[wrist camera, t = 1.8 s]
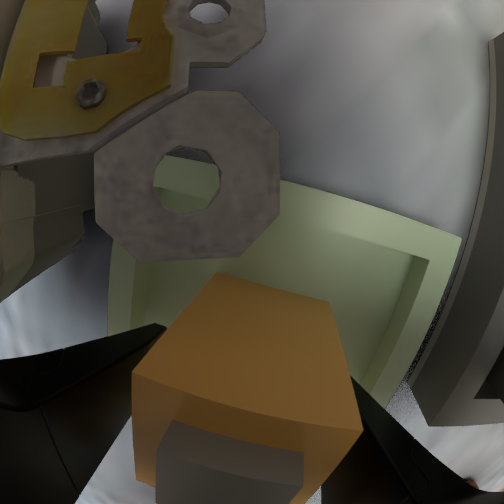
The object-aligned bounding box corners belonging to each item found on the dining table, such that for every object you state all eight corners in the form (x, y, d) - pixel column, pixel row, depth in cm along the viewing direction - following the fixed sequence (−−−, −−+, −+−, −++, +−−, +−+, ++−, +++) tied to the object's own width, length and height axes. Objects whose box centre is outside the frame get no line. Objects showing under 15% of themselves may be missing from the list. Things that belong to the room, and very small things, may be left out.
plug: (294, 389, 11) (287, 542, 4) (197, 363, 11) (125, 500, 4) (329, 301, 10) (370, 464, 3) (216, 271, 10) (109, 399, 4)
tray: (338, 444, 12) (341, 468, 10) (126, 386, 13) (110, 406, 11) (439, 230, 9) (462, 238, 8) (151, 153, 10) (127, 148, 8)
